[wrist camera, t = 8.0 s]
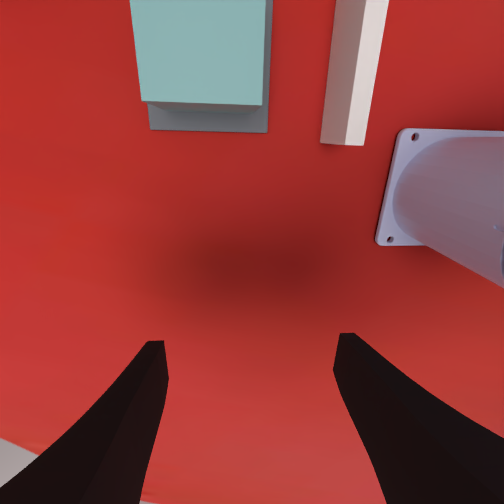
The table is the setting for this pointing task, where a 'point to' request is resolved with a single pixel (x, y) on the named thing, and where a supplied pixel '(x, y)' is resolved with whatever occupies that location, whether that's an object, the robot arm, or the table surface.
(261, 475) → the table surface
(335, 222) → the table surface
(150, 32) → the teal block
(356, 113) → the light grey piece
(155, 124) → the mat
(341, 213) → the table surface
